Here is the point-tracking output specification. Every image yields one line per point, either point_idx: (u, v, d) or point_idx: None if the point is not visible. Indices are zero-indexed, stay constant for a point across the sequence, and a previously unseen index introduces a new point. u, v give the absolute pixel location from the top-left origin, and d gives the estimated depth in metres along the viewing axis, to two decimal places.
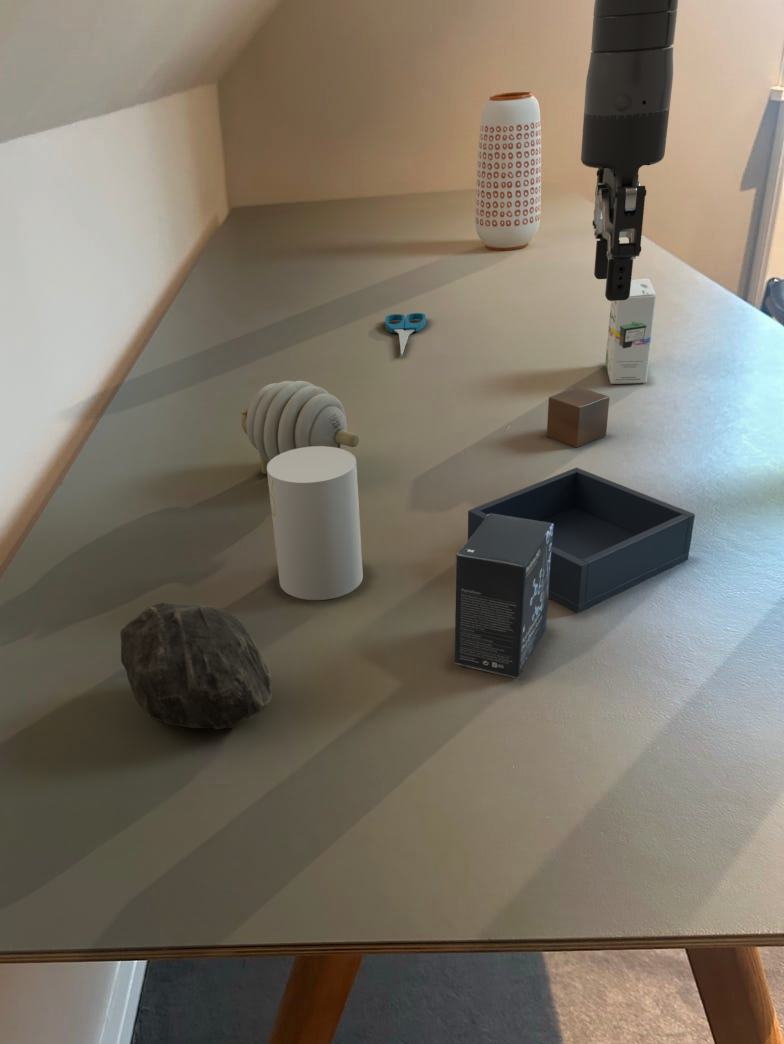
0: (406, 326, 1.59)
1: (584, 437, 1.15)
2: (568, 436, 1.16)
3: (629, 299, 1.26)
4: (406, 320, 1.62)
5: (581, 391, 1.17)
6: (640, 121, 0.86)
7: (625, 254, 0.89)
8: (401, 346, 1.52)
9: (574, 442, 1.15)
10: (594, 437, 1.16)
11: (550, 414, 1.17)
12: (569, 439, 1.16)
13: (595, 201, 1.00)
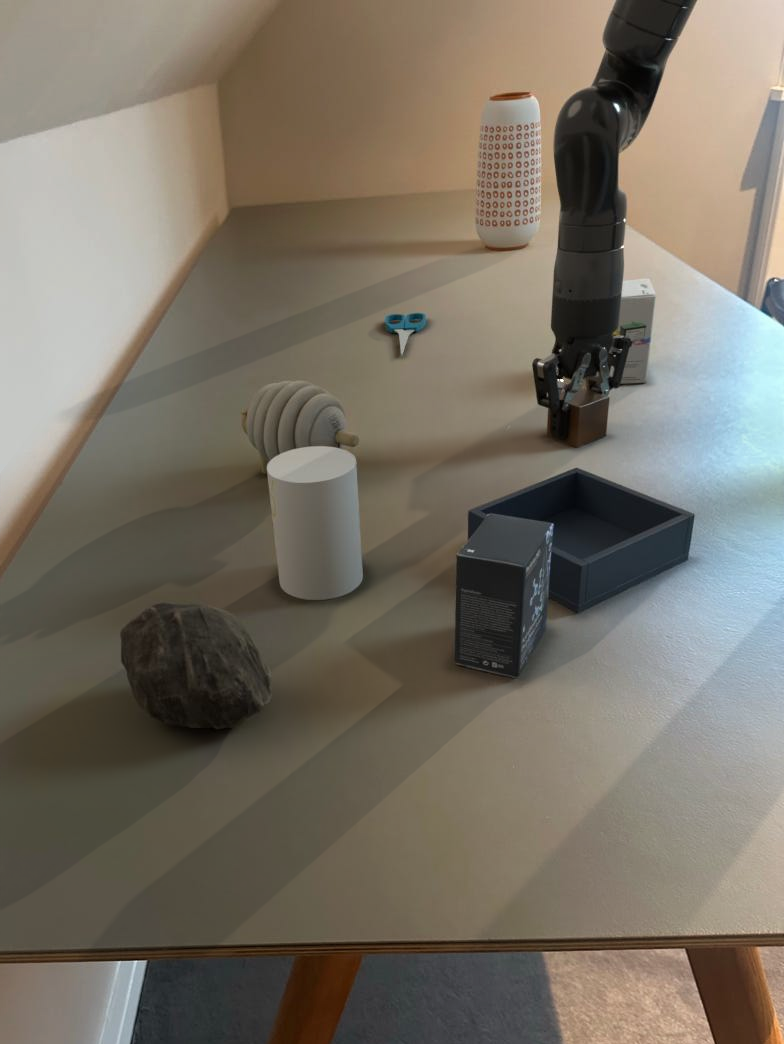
0: (406, 326, 1.59)
1: (584, 437, 1.15)
2: (568, 436, 1.16)
3: (629, 299, 1.26)
4: (406, 320, 1.62)
5: (581, 391, 1.17)
6: (567, 304, 1.07)
7: (544, 406, 1.13)
8: (401, 346, 1.52)
9: (574, 442, 1.15)
10: (594, 437, 1.16)
11: (550, 414, 1.17)
12: (569, 439, 1.16)
13: None
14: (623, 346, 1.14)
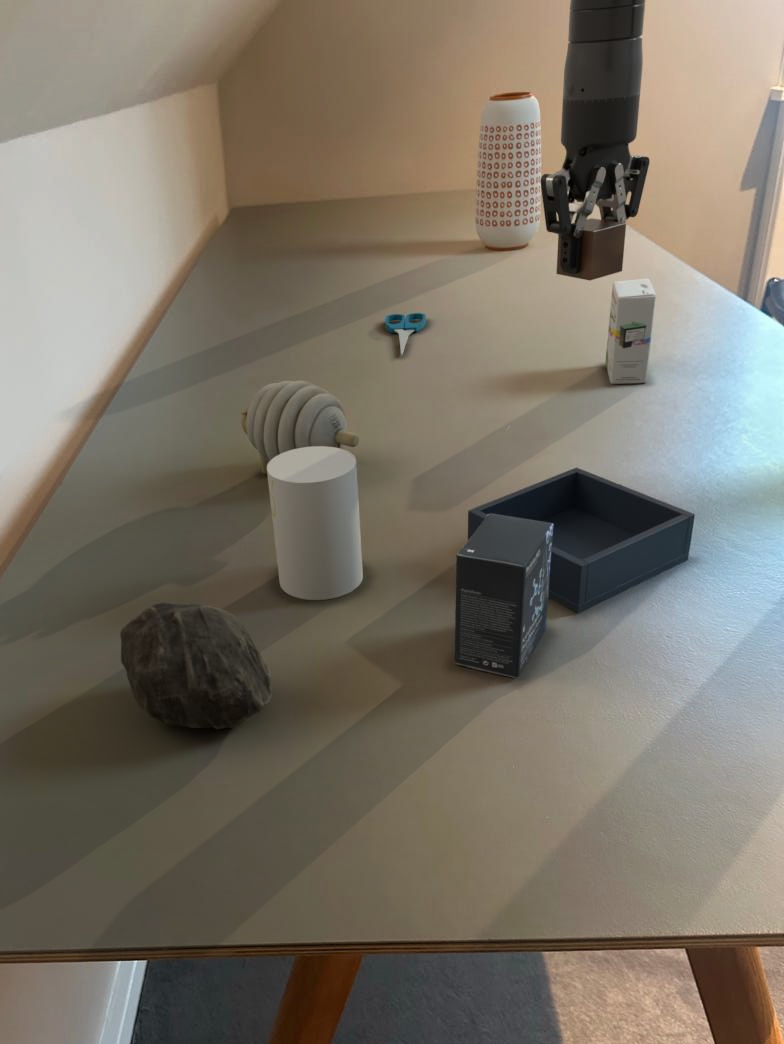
0: (406, 326, 1.59)
1: (598, 269, 1.05)
2: (581, 269, 1.05)
3: (629, 299, 1.26)
4: (406, 320, 1.62)
5: (594, 221, 1.06)
6: (579, 107, 0.96)
7: (554, 231, 1.02)
8: (401, 346, 1.52)
9: (587, 275, 1.05)
10: (609, 271, 1.06)
11: (560, 246, 1.06)
12: (581, 272, 1.05)
13: None
14: (641, 166, 1.03)
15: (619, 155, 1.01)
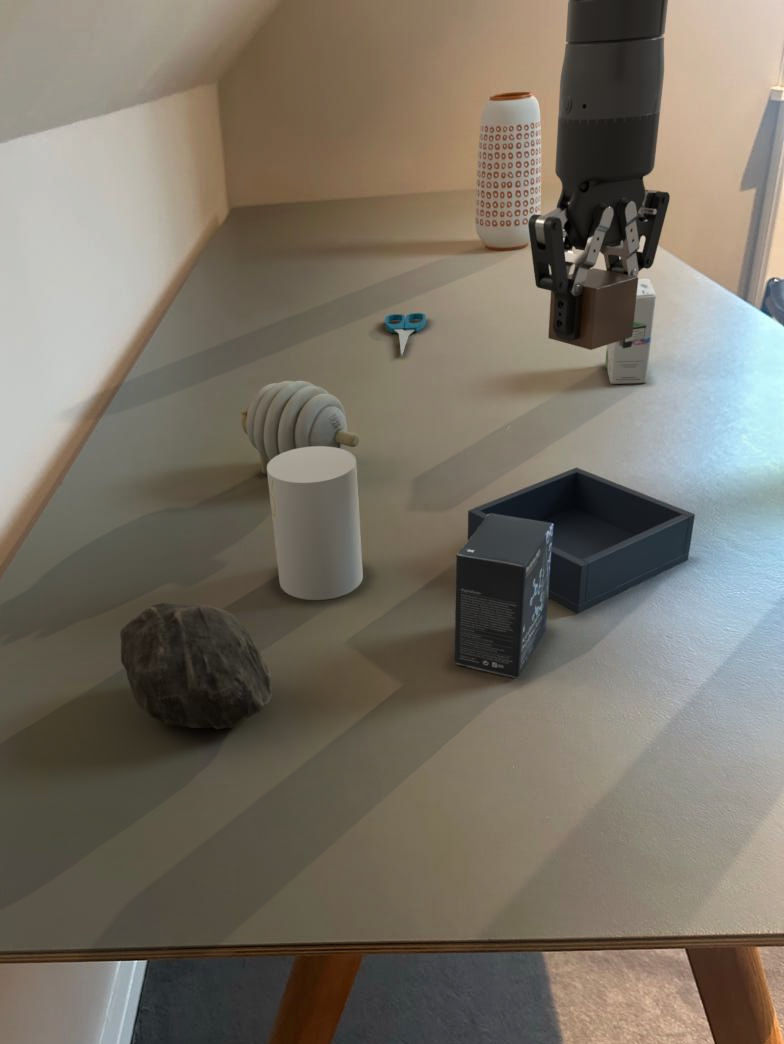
0: (406, 326, 1.59)
1: (601, 336, 0.81)
2: None
3: None
4: (406, 320, 1.62)
5: (597, 272, 0.83)
6: (580, 128, 0.73)
7: (545, 287, 0.79)
8: (401, 346, 1.52)
9: (587, 342, 0.81)
10: (616, 337, 0.82)
11: (553, 304, 0.83)
12: (580, 339, 0.82)
13: None
14: (659, 204, 0.80)
15: (631, 190, 0.78)
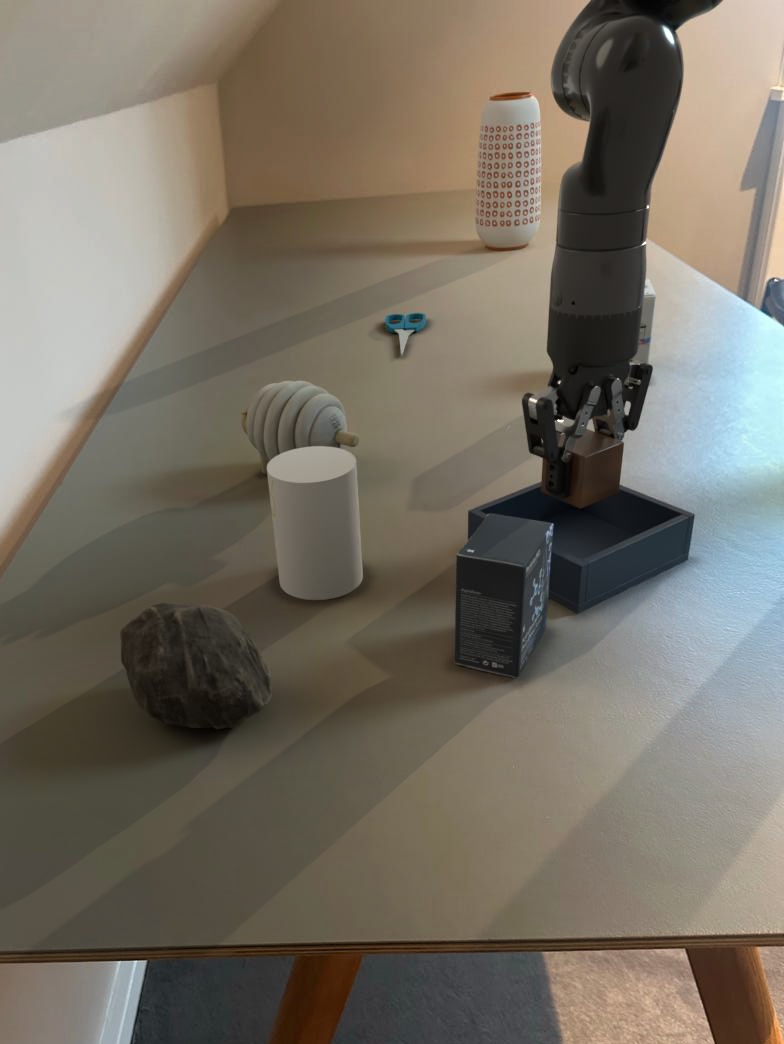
0: (406, 326, 1.59)
1: (590, 496, 0.87)
2: (570, 494, 0.88)
3: None
4: (406, 320, 1.62)
5: (586, 434, 0.89)
6: (569, 321, 0.79)
7: (538, 455, 0.85)
8: (401, 346, 1.52)
9: (577, 502, 0.87)
10: (604, 495, 0.88)
11: (545, 463, 0.89)
12: (570, 497, 0.88)
13: None
14: (643, 376, 0.86)
15: (617, 367, 0.84)
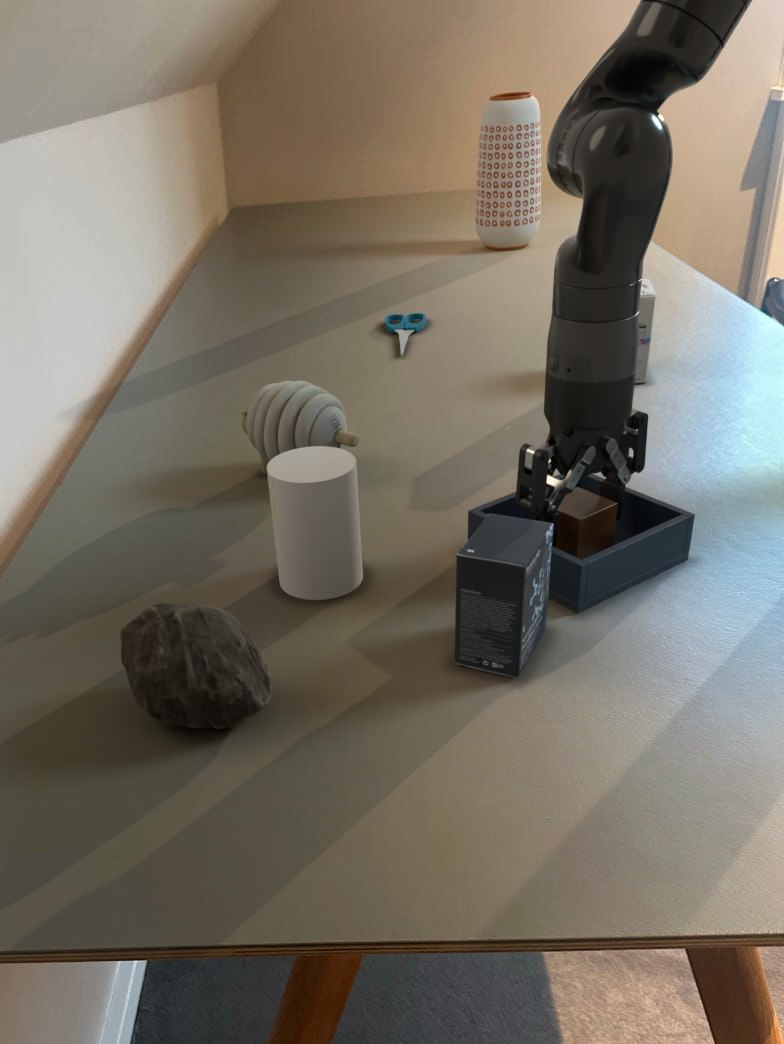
0: (406, 326, 1.59)
1: (585, 555, 0.91)
2: None
3: None
4: (406, 320, 1.62)
5: (581, 494, 0.92)
6: (565, 387, 0.82)
7: (524, 508, 0.87)
8: (401, 346, 1.52)
9: None
10: None
11: None
12: None
13: None
14: (639, 425, 0.89)
15: (611, 427, 0.87)
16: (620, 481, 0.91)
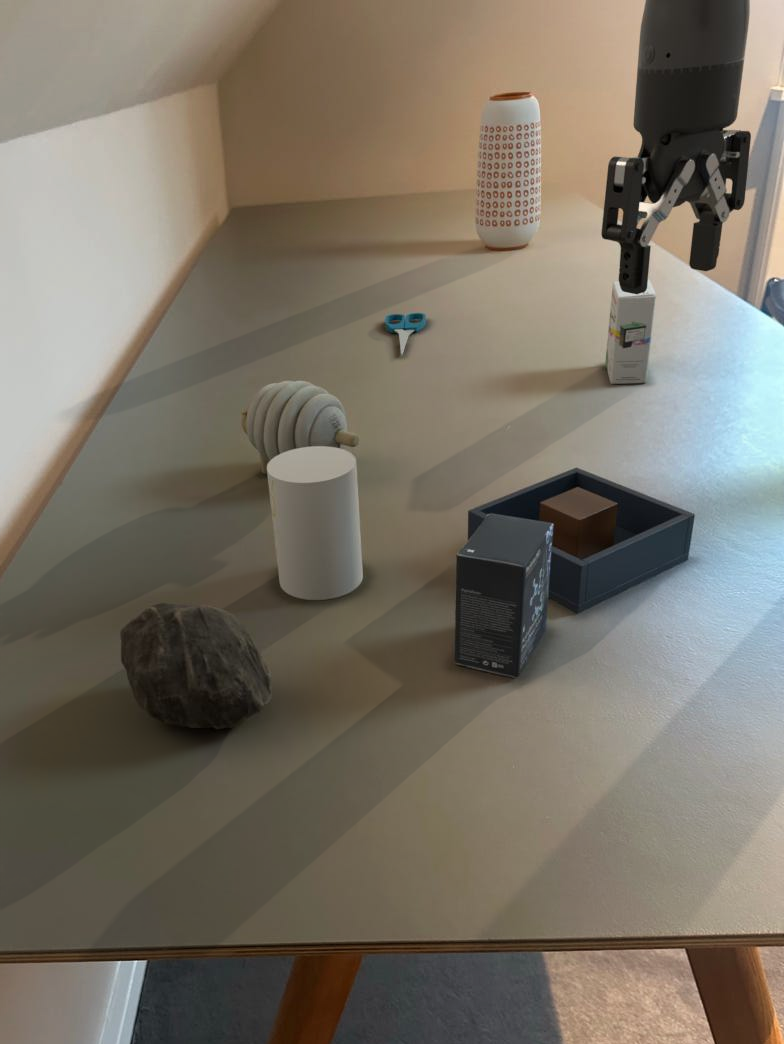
0: (406, 326, 1.59)
1: (585, 555, 0.91)
2: None
3: (629, 299, 1.26)
4: (406, 320, 1.62)
5: (581, 494, 0.92)
6: (663, 78, 0.71)
7: (612, 238, 0.76)
8: (401, 346, 1.52)
9: None
10: None
11: None
12: None
13: None
14: (741, 146, 0.78)
15: (711, 143, 0.76)
16: (717, 217, 0.80)
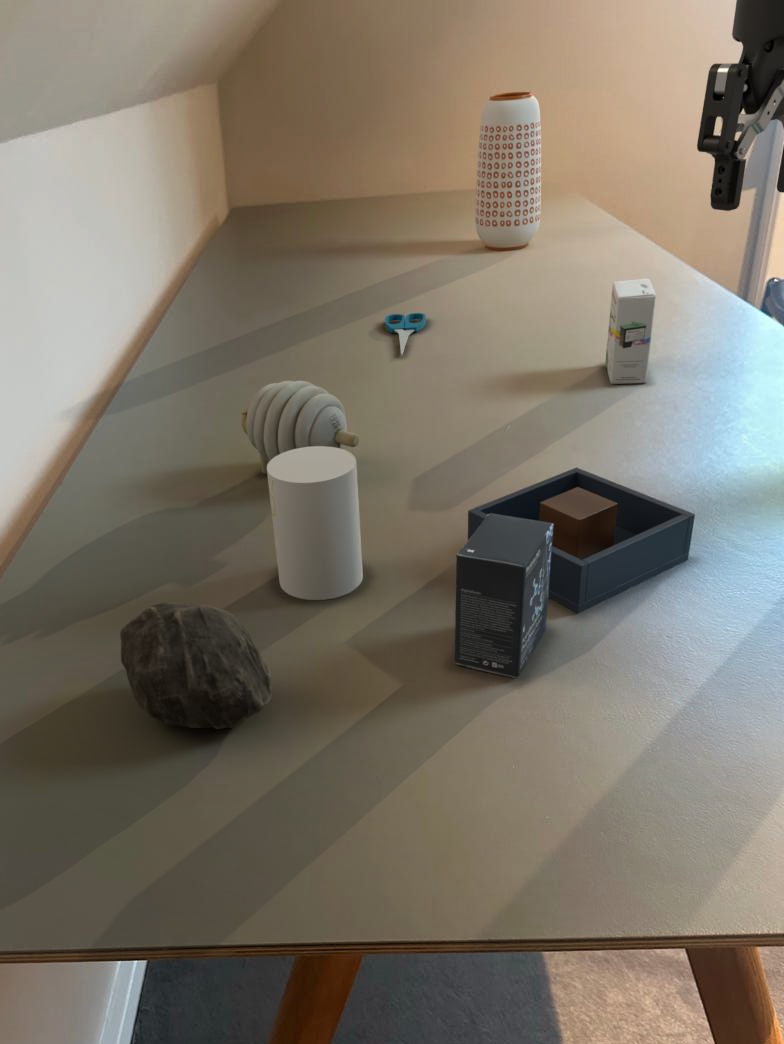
0: (406, 326, 1.59)
1: (585, 555, 0.91)
2: None
3: (629, 299, 1.26)
4: (406, 320, 1.62)
5: (581, 494, 0.92)
6: None
7: (709, 149, 0.75)
8: (401, 346, 1.52)
9: None
10: None
11: None
12: None
13: None
14: None
15: None
16: None
